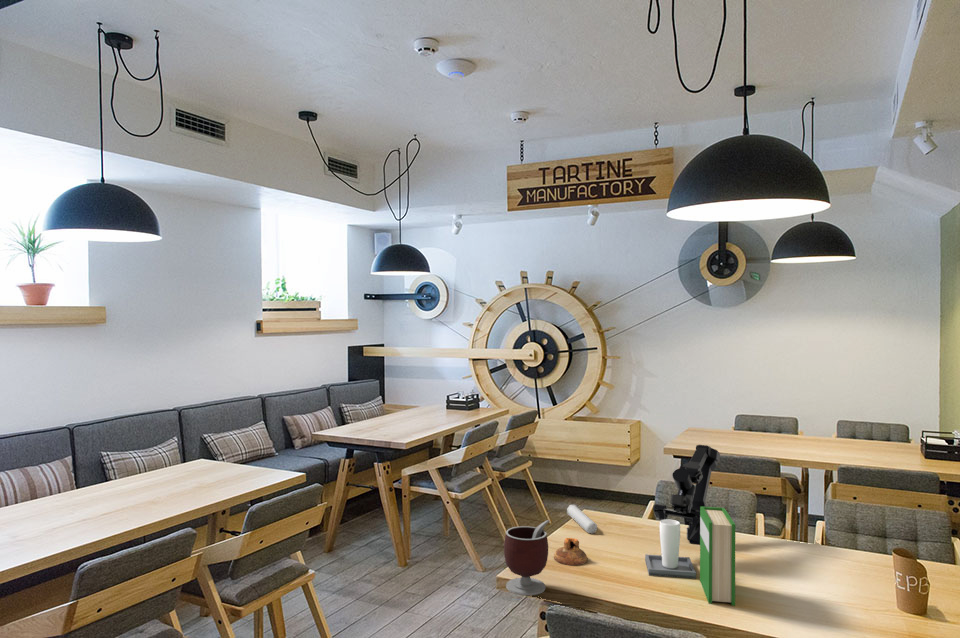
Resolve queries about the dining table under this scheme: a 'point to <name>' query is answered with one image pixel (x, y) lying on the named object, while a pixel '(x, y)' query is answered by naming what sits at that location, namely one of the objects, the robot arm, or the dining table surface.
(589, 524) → the tube
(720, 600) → the hardback book
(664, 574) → the serving tray
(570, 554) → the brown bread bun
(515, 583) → the mate gourd
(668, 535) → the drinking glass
